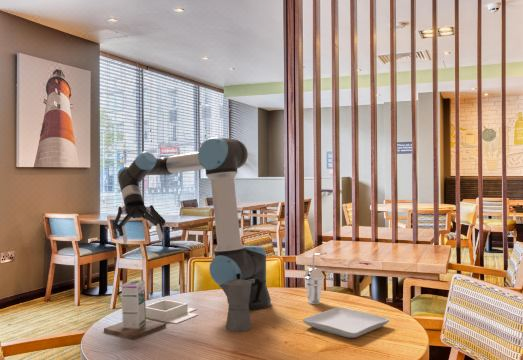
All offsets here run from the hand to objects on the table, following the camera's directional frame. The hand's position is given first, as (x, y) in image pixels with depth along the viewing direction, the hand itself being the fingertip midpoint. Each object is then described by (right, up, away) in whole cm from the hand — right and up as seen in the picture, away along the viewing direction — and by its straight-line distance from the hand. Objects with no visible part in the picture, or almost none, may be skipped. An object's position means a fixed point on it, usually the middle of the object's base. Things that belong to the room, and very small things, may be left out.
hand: (143, 240), depth 179 cm
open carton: (+13, -26, -6) cm, 30 cm away
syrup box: (+3, -25, -23) cm, 34 cm away
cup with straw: (+66, -26, +7) cm, 71 cm away
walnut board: (+3, -26, -23) cm, 35 cm away
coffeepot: (+38, -26, -21) cm, 51 cm away
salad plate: (+73, -26, -23) cm, 81 cm away
